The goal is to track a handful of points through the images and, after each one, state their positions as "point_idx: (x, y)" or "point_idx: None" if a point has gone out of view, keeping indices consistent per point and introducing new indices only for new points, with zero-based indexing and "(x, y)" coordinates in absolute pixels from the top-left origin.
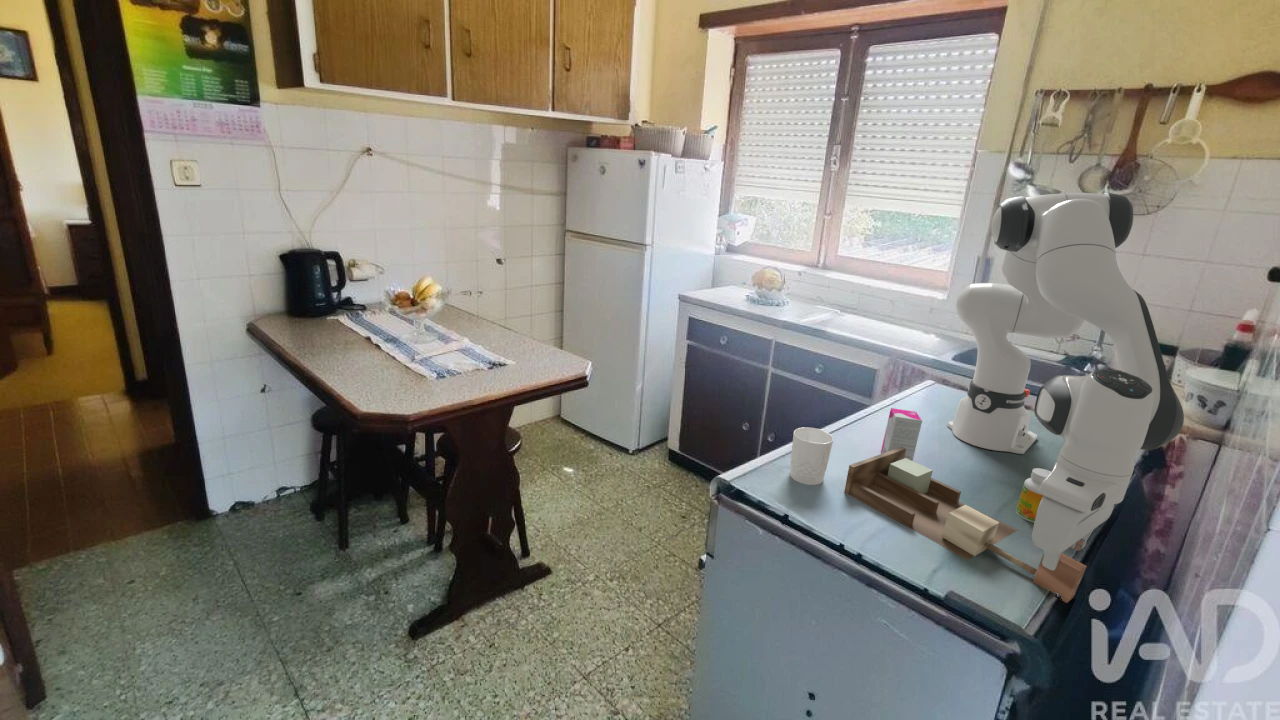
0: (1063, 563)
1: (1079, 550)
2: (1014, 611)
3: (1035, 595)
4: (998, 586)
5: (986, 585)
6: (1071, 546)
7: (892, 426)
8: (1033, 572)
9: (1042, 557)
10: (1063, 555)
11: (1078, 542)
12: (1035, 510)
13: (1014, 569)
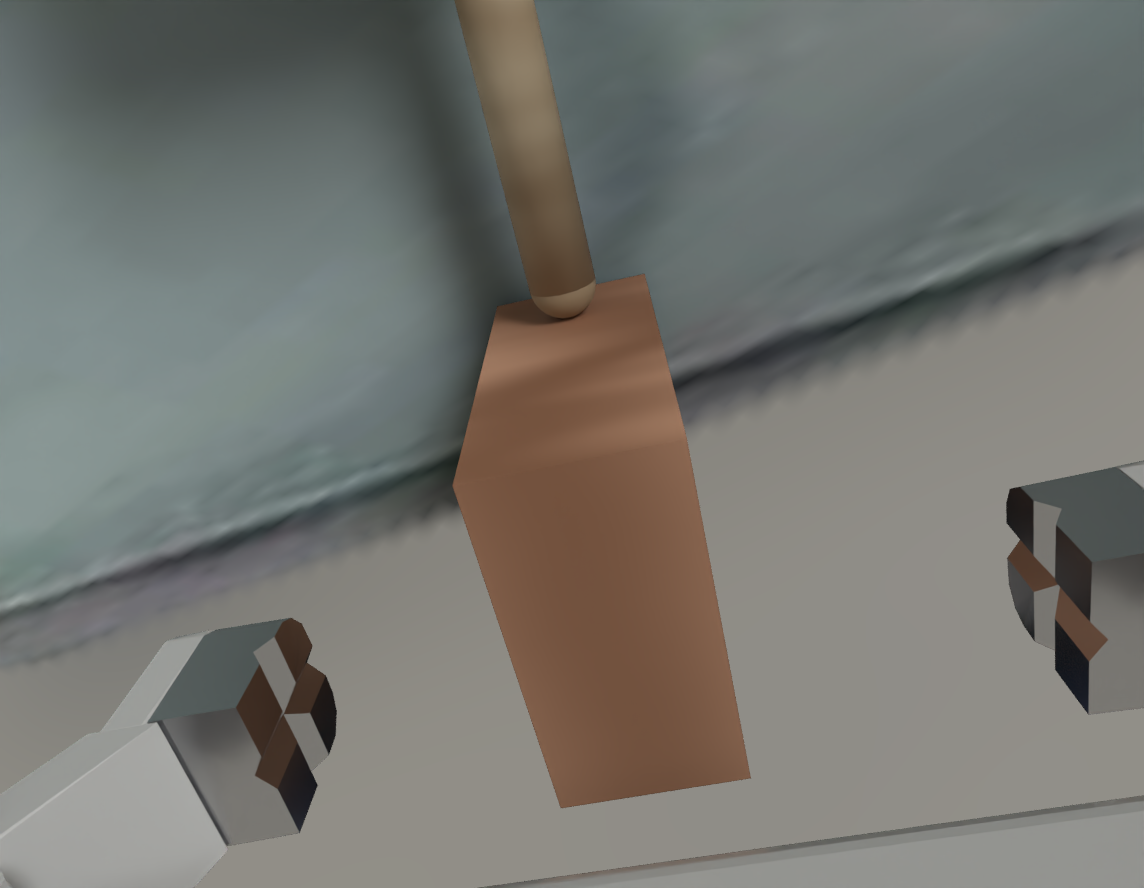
0: (518, 674)
1: (1018, 604)
2: (35, 491)
3: (388, 415)
4: (133, 224)
5: (17, 175)
6: (1012, 523)
7: None
8: (530, 289)
9: (465, 444)
10: (672, 598)
11: (1067, 646)
12: None
13: None
